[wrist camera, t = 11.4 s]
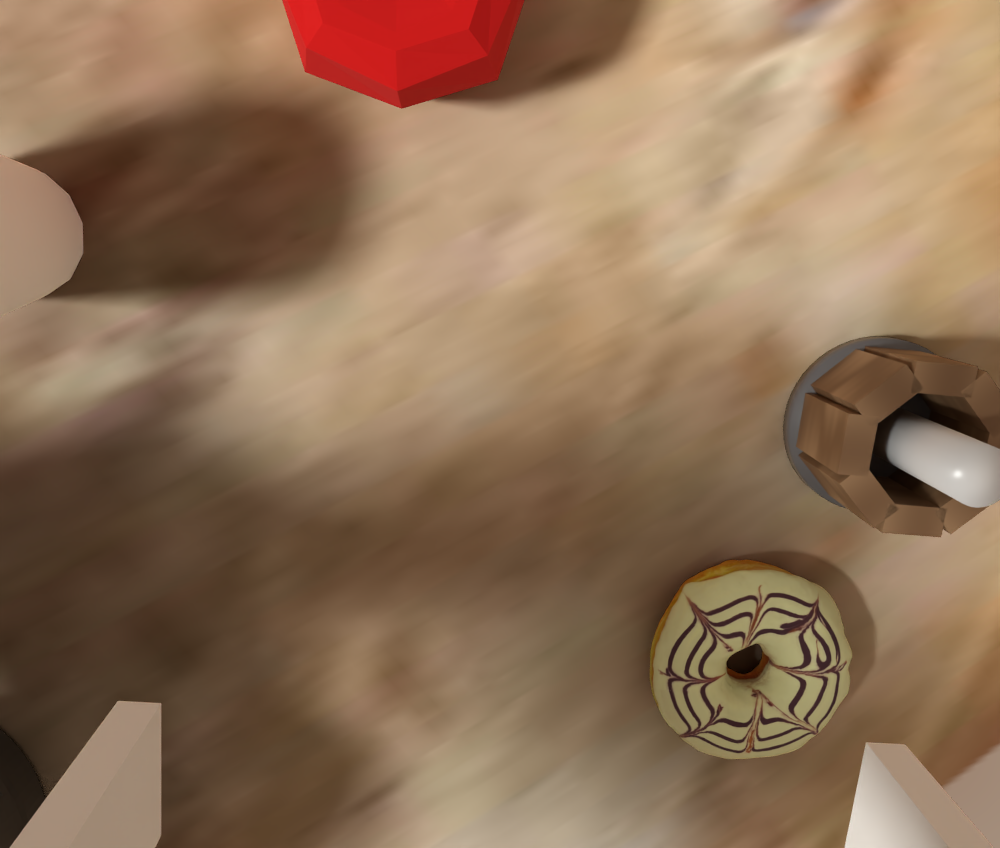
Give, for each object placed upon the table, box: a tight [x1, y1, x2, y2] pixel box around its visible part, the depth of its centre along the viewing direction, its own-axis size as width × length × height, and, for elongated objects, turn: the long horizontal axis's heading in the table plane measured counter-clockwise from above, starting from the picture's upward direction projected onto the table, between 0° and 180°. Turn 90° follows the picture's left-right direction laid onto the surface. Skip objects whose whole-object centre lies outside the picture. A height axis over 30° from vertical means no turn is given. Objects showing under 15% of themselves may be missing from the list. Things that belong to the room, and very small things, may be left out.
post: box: [783, 337, 1000, 508], centre depth 39 cm, size 9×9×10 cm
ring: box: [796, 346, 1000, 537], centre depth 41 cm, size 8×8×5 cm
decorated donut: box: [650, 559, 852, 759], centre depth 45 cm, size 10×11×4 cm
